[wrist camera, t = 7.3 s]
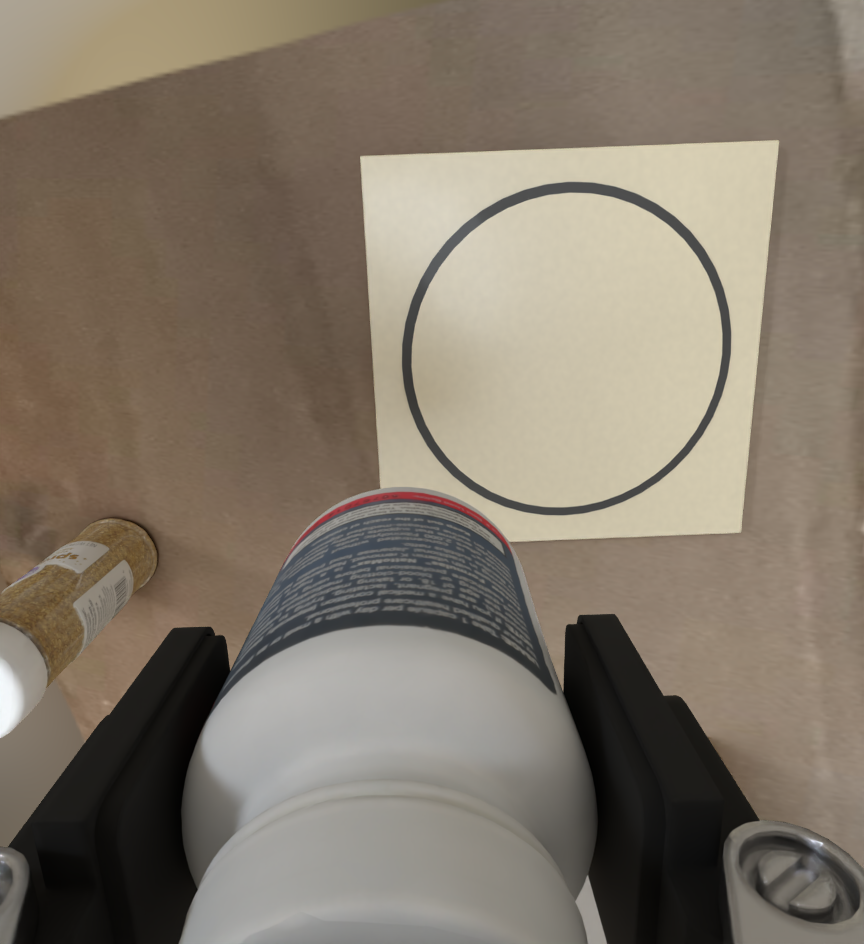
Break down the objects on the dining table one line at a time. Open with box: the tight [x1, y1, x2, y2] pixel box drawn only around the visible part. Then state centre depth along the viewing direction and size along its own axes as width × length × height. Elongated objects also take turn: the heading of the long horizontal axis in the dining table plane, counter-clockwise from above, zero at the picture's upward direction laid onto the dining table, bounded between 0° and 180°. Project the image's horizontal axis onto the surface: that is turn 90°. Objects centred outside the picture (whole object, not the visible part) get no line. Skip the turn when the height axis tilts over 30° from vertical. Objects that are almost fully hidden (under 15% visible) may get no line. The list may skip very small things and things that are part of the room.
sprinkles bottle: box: [0, 518, 157, 738], centre depth 31 cm, size 5×5×14 cm
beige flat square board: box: [360, 140, 779, 542], centre depth 34 cm, size 20×20×1 cm
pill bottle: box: [179, 487, 598, 944], centre depth 10 cm, size 5×5×9 cm
